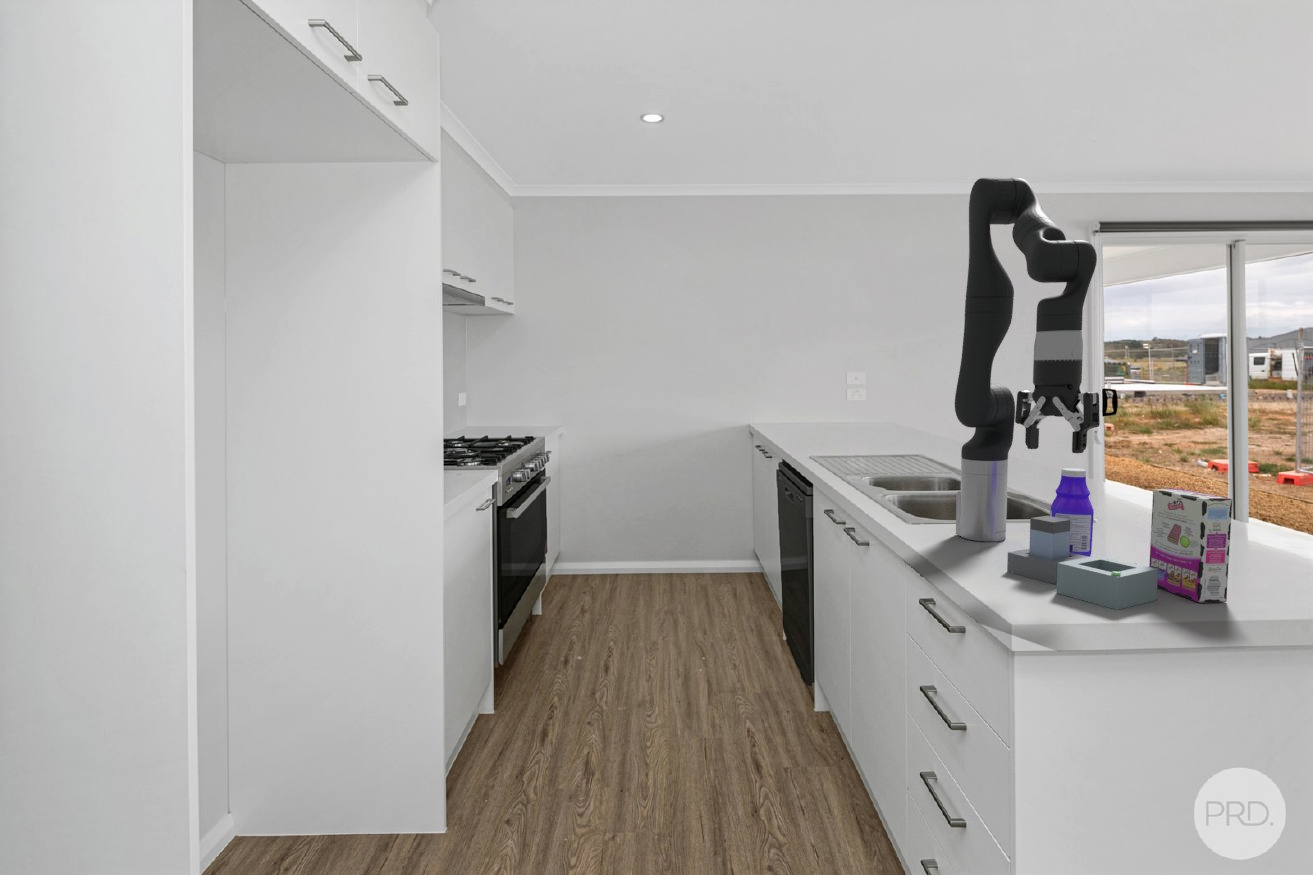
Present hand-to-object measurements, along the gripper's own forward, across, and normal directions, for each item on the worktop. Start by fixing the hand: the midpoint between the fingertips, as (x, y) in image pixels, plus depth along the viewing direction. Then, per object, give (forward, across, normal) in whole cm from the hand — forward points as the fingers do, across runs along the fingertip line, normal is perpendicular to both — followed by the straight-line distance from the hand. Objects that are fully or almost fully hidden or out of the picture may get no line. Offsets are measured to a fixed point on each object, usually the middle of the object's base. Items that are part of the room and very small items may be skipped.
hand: (1054, 450), depth 133 cm
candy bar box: (+22, -18, -8) cm, 30 cm away
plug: (+22, 0, 0) cm, 22 cm away
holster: (+22, 0, 0) cm, 22 cm away
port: (+22, -13, +4) cm, 26 cm away
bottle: (+22, +5, -13) cm, 26 cm away
